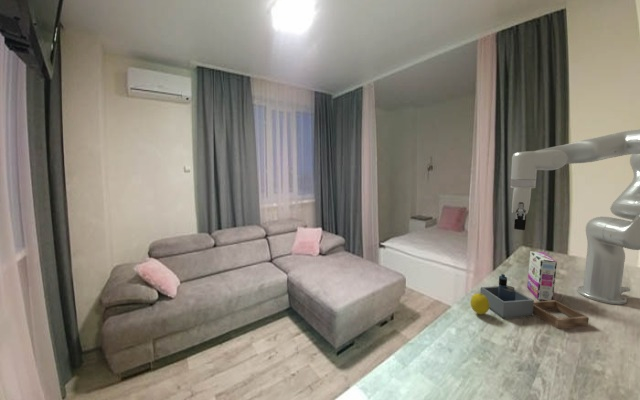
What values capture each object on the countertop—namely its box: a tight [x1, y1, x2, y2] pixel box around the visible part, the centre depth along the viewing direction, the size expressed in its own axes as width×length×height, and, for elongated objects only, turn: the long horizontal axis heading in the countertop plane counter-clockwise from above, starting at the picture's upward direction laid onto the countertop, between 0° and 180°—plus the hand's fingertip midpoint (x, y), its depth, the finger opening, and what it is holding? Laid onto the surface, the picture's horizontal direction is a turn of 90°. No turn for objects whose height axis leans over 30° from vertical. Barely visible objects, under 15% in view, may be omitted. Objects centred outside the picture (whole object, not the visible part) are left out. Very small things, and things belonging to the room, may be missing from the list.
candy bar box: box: [526, 250, 558, 301], centre depth 97 cm, size 11×5×16 cm, turn 156°
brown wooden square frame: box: [533, 299, 590, 330], centre depth 83 cm, size 11×11×3 cm
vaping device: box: [497, 273, 516, 301], centre depth 89 cm, size 3×5×12 cm, turn 31°
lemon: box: [470, 293, 490, 316], centre depth 86 cm, size 6×6×8 cm
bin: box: [479, 284, 535, 320], centre depth 89 cm, size 11×11×6 cm
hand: (520, 226), depth 96 cm, fingers open, 9 cm apart
